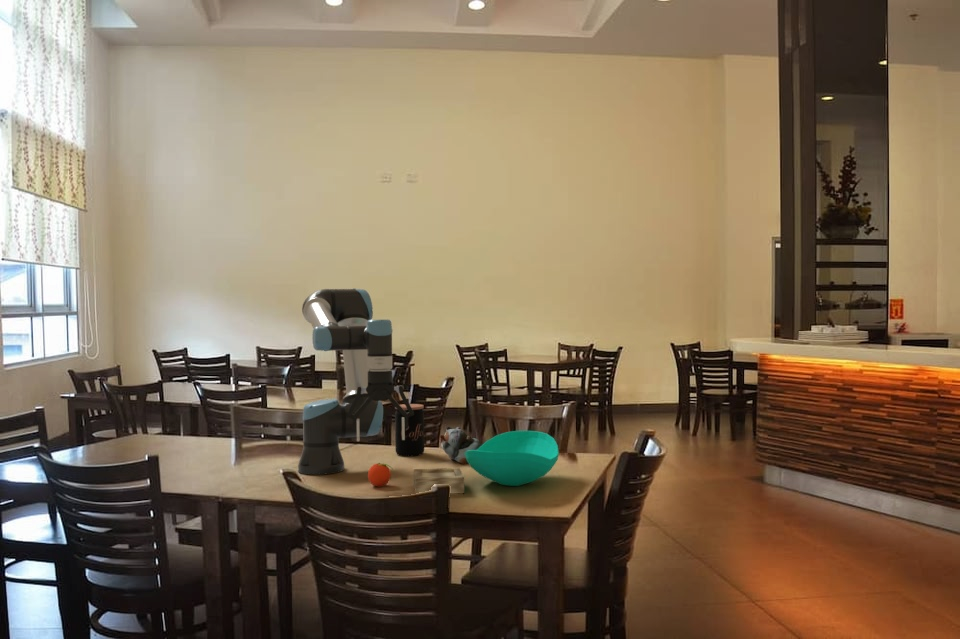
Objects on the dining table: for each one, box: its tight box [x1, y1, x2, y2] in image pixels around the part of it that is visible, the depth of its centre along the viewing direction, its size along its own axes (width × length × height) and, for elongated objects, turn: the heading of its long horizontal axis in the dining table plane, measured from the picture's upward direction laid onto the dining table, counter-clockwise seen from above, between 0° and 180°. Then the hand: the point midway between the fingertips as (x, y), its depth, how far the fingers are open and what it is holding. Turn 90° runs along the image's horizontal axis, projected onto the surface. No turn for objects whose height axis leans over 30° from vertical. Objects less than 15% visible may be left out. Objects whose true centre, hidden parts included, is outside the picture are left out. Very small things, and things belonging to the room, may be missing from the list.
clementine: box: [367, 462, 393, 487], centre depth 240 cm, size 8×7×7 cm
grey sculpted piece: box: [439, 426, 483, 465], centre depth 279 cm, size 15×12×14 cm
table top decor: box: [465, 430, 560, 487], centre depth 242 cm, size 40×28×13 cm
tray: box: [413, 467, 465, 494], centre depth 235 cm, size 14×14×5 cm
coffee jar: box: [394, 403, 425, 457], centre depth 293 cm, size 11×11×18 cm
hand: (380, 440), depth 240 cm, fingers open, 13 cm apart
